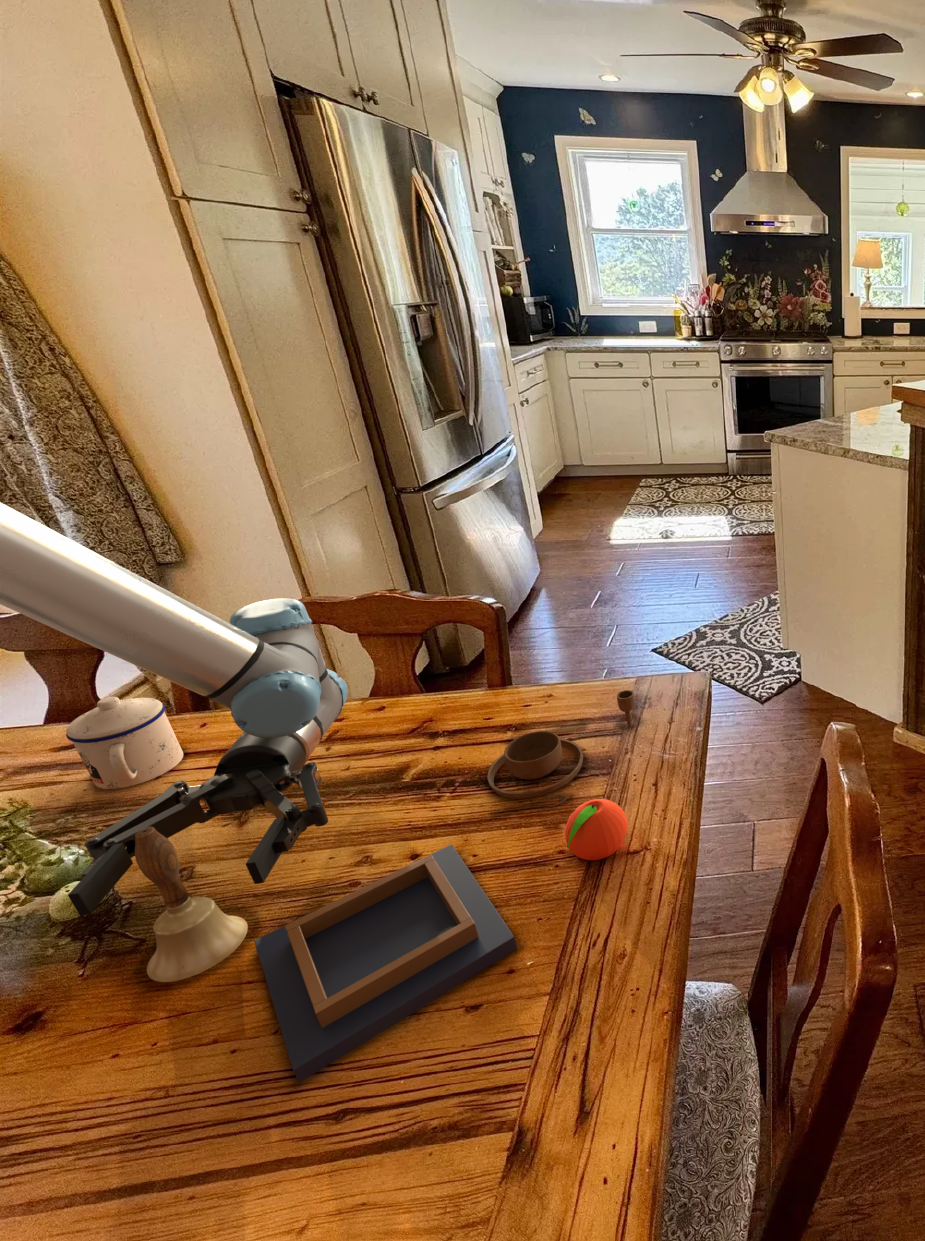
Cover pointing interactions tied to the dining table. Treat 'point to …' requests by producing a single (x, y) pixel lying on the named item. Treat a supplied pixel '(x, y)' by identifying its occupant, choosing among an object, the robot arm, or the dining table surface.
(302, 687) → the robot arm
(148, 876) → the hand bell
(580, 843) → the clementine
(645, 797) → the dining table surface
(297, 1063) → the bell stand
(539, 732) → the place setting
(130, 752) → the teacup with lid
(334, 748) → the dining table surface
